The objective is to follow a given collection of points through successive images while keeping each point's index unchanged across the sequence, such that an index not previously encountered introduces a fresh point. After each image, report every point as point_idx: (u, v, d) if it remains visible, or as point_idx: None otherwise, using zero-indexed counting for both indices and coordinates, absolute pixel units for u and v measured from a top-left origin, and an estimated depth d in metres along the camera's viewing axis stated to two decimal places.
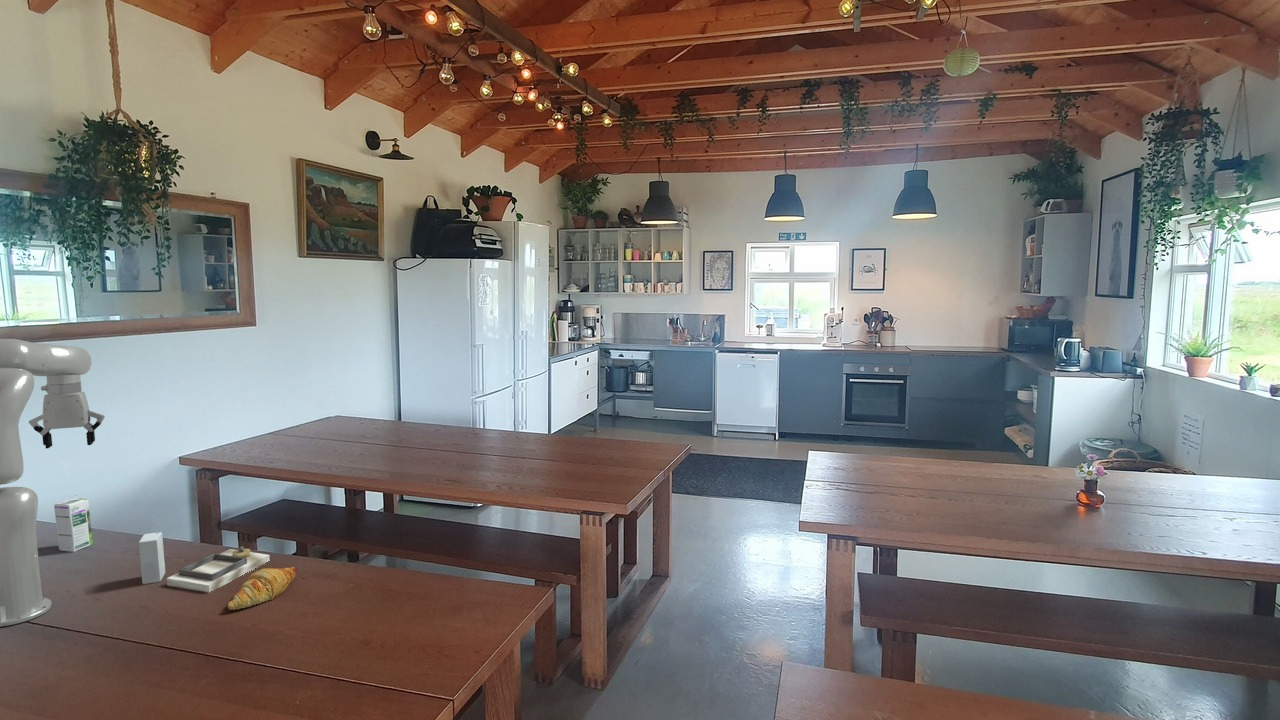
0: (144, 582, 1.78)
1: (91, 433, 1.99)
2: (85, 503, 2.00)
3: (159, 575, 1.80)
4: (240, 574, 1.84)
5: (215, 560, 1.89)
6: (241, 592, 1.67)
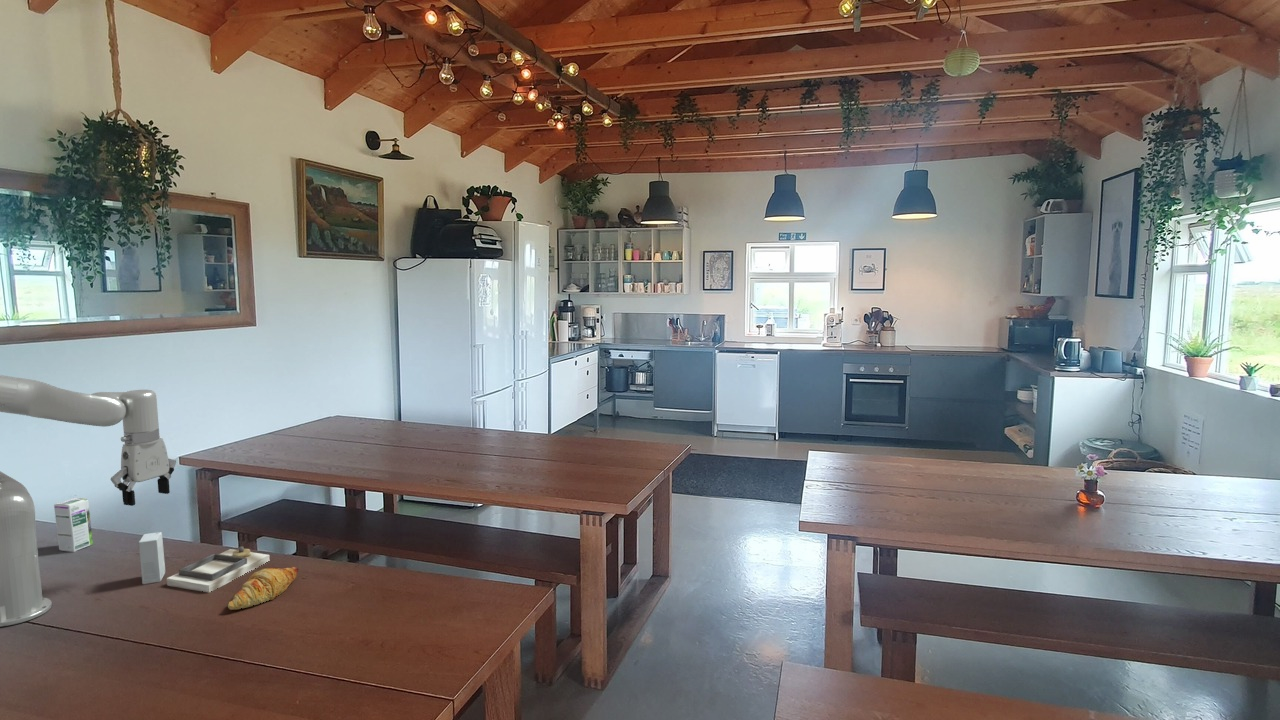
0: (144, 582, 1.78)
1: None
2: (85, 503, 2.00)
3: (159, 575, 1.80)
4: (240, 574, 1.84)
5: (215, 560, 1.89)
6: (241, 592, 1.67)
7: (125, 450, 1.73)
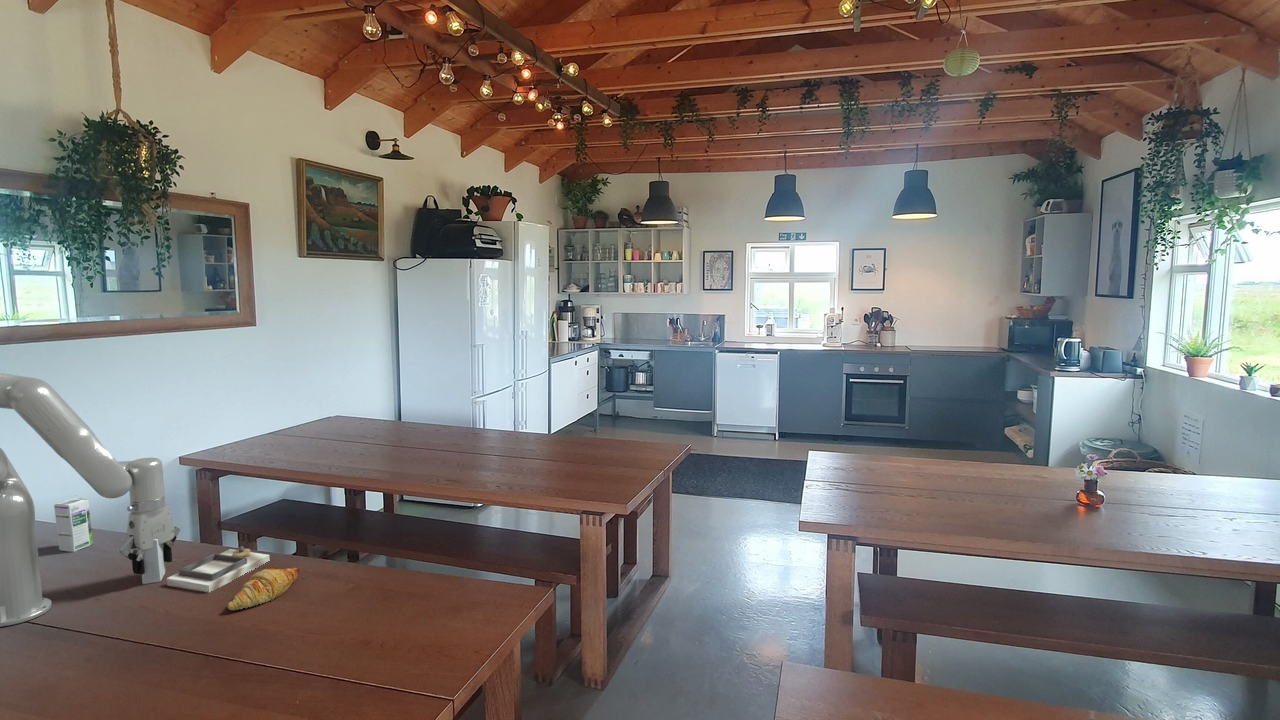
0: (144, 582, 1.78)
1: None
2: (85, 503, 2.00)
3: (159, 575, 1.80)
4: (240, 574, 1.84)
5: (215, 560, 1.89)
6: (241, 593, 1.67)
7: (131, 519, 1.75)
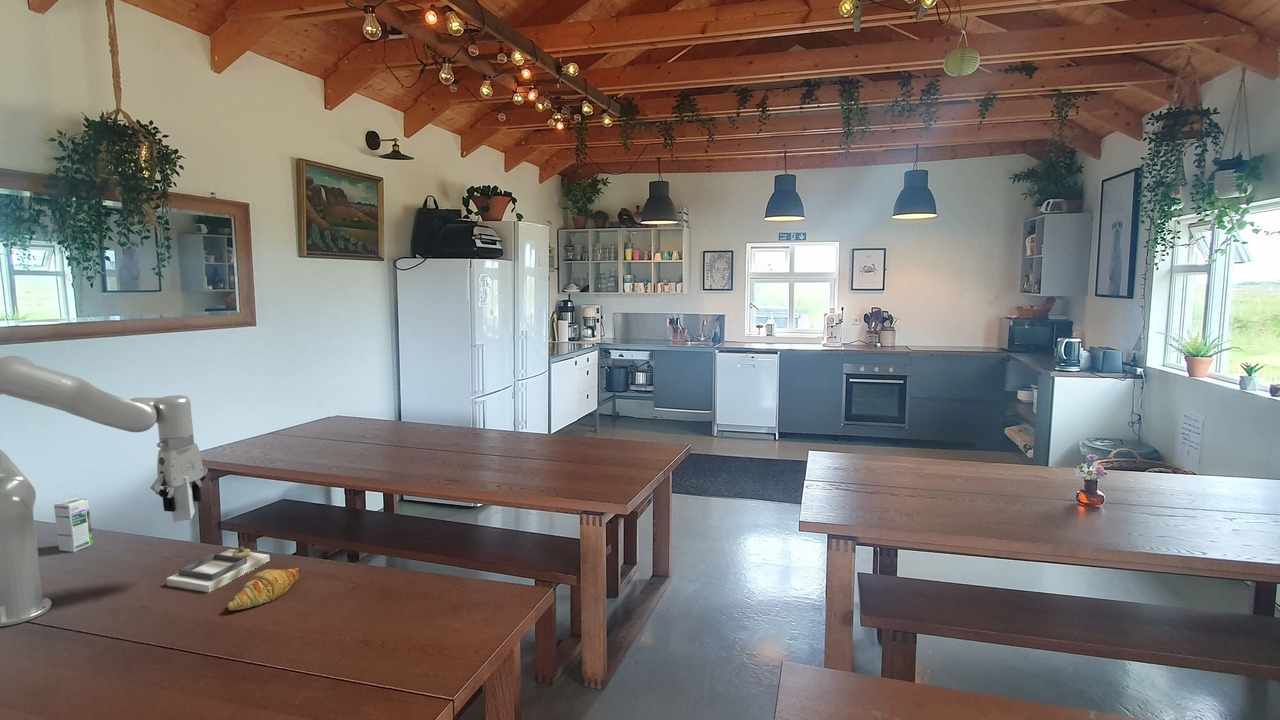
0: (175, 519, 1.78)
1: None
2: (85, 503, 2.00)
3: (189, 513, 1.79)
4: (240, 574, 1.84)
5: (215, 560, 1.89)
6: (242, 593, 1.67)
7: (161, 456, 1.74)
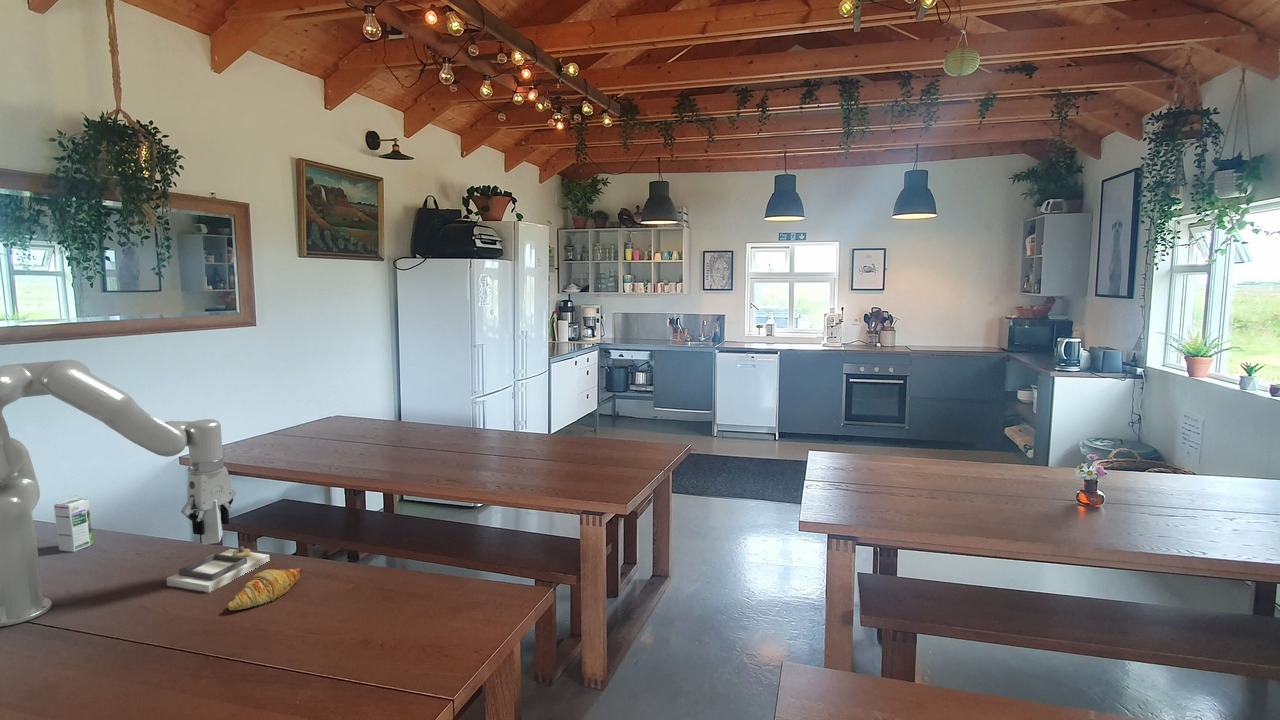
0: (204, 542, 1.79)
1: None
2: (85, 503, 2.00)
3: (218, 536, 1.81)
4: (240, 574, 1.84)
5: (215, 560, 1.89)
6: (242, 593, 1.67)
7: (192, 479, 1.76)
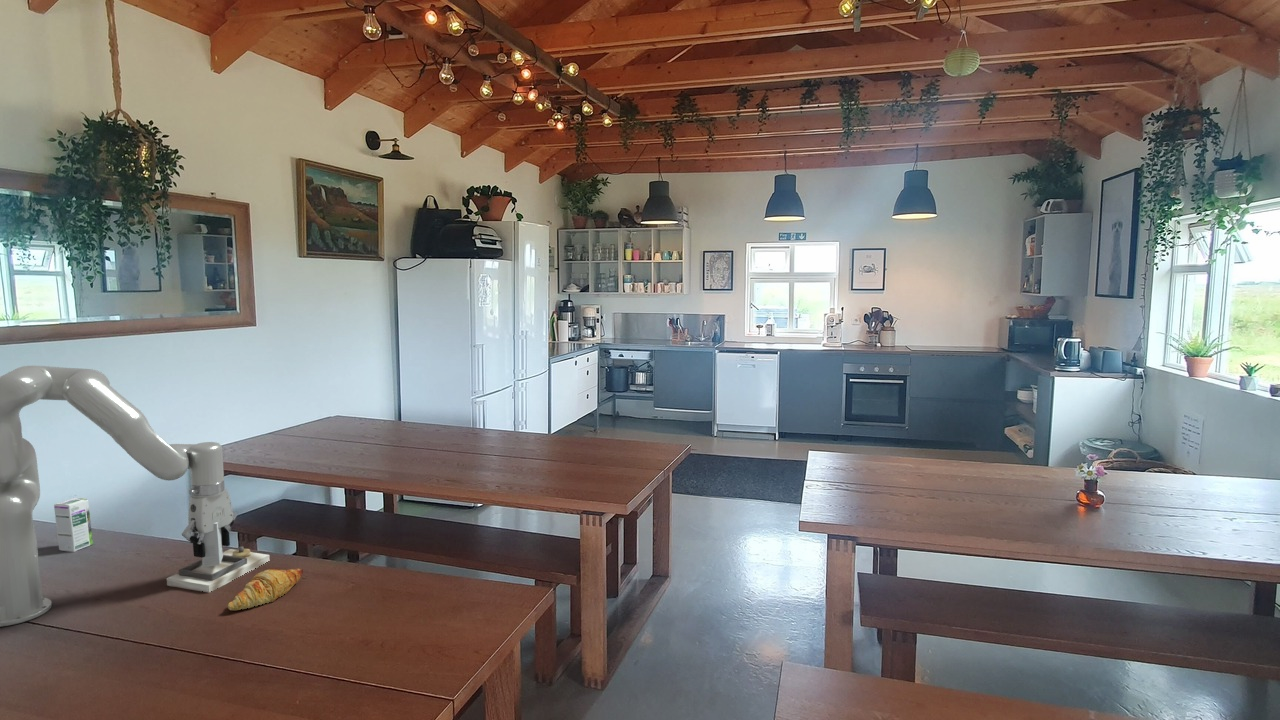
0: (204, 565, 1.80)
1: None
2: (85, 503, 2.00)
3: (219, 558, 1.81)
4: (240, 574, 1.84)
5: None
6: (242, 593, 1.67)
7: (193, 502, 1.77)
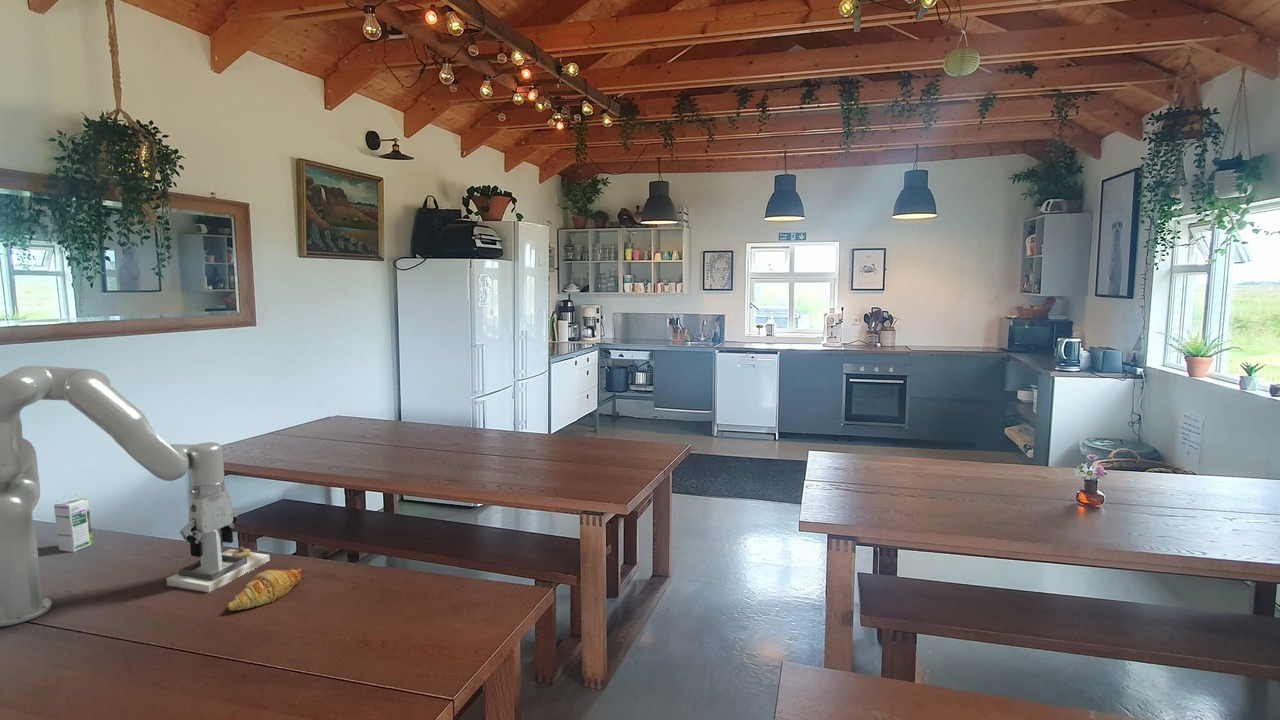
0: (204, 572, 1.80)
1: None
2: (85, 503, 2.00)
3: (218, 566, 1.81)
4: (240, 574, 1.84)
5: None
6: (242, 593, 1.67)
7: (193, 503, 1.77)
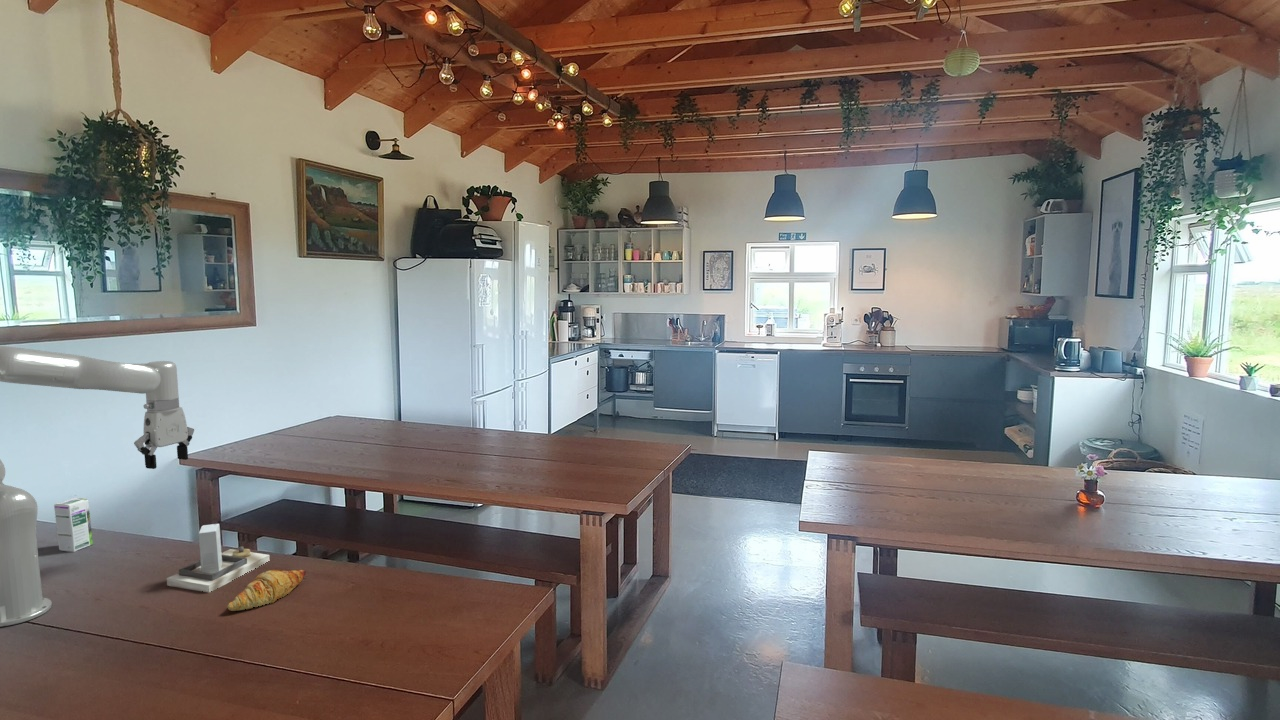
0: (204, 572, 1.80)
1: None
2: (85, 503, 2.00)
3: (218, 566, 1.81)
4: (240, 574, 1.84)
5: None
6: (242, 593, 1.67)
7: (147, 417, 1.85)
